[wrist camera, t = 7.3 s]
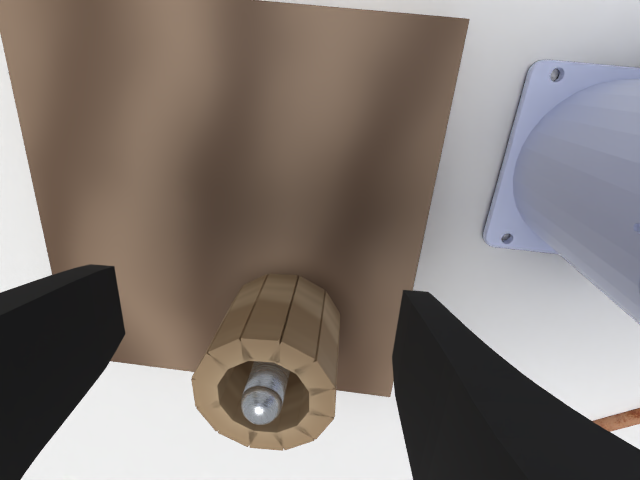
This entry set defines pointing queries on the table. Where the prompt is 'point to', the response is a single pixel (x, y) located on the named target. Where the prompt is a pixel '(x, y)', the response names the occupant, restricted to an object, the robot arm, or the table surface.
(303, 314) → the bead
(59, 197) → the fabric cloth
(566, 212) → the robot arm
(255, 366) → the silver metal cylinder
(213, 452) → the table surface
